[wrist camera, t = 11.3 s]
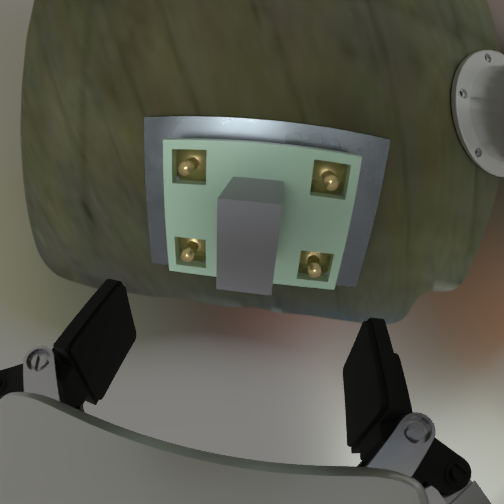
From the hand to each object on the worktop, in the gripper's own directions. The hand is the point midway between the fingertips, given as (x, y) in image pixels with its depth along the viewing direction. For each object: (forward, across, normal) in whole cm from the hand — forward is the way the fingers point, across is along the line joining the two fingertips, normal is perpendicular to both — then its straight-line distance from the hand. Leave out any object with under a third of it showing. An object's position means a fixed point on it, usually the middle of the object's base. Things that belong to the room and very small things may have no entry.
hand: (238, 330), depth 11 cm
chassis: (+16, +1, +1) cm, 16 cm away
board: (+13, +1, +1) cm, 13 cm away
